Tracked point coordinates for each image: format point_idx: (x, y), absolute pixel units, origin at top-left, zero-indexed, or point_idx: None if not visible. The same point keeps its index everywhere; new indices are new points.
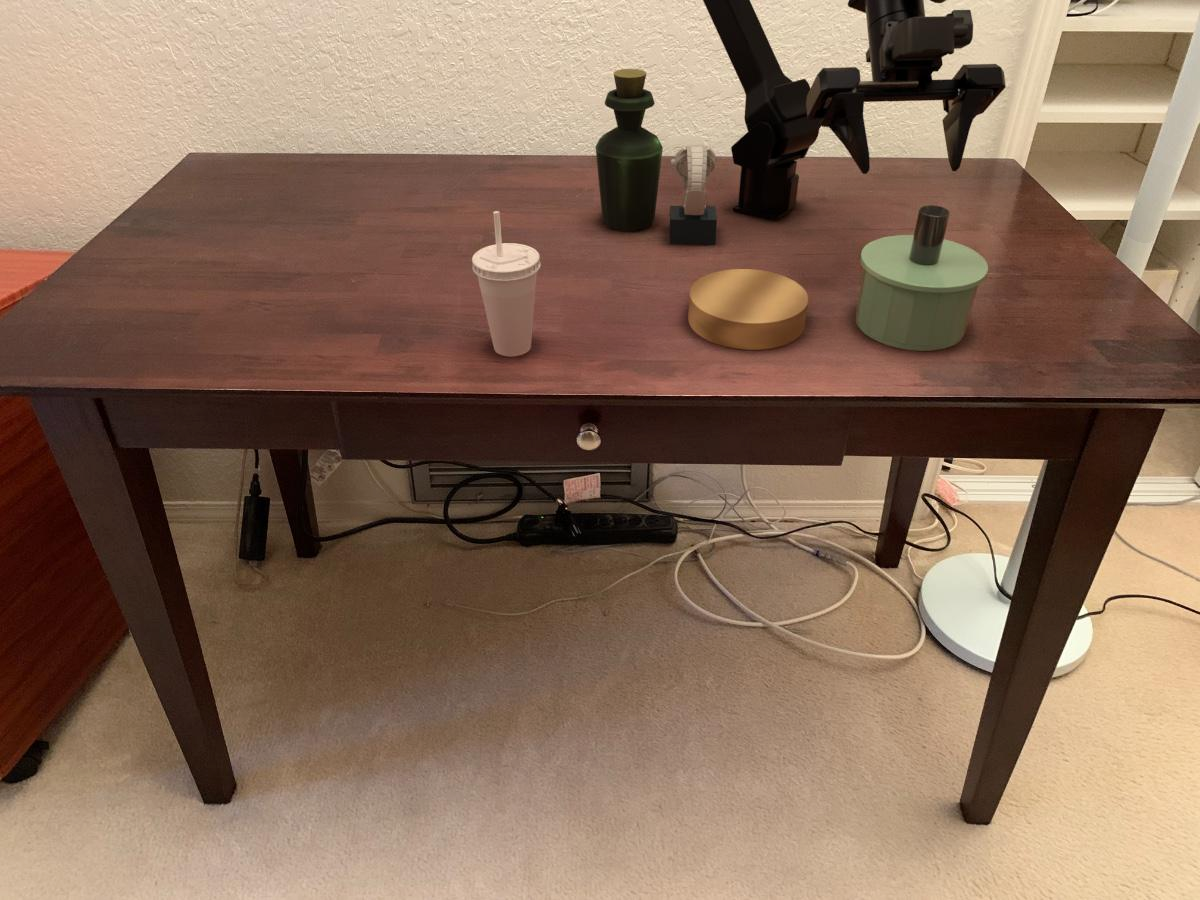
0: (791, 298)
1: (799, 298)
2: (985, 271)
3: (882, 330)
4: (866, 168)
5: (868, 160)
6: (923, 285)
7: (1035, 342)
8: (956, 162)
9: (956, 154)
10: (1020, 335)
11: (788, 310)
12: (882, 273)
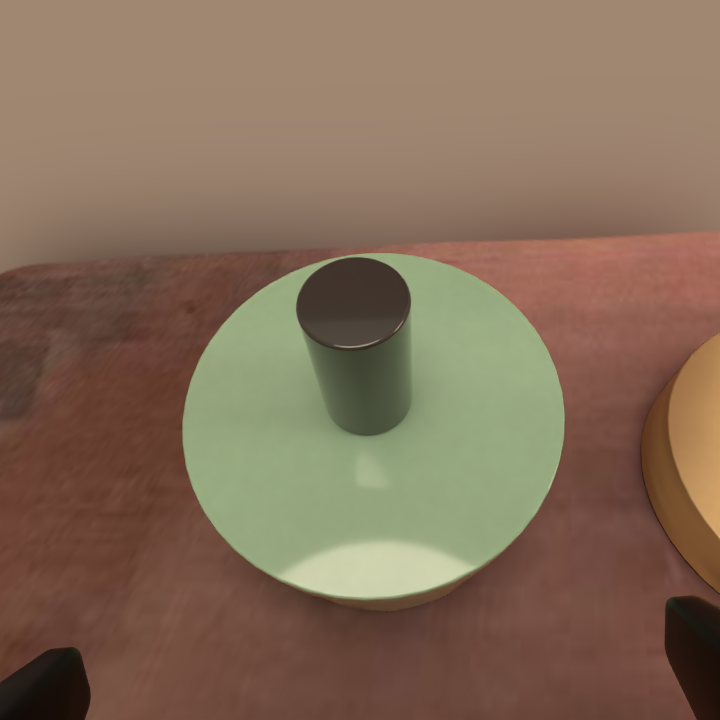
0: (718, 435)
1: (694, 436)
2: (221, 331)
3: None
4: (693, 597)
5: (710, 621)
6: (409, 259)
7: (137, 407)
8: (58, 664)
9: (25, 694)
10: (151, 433)
11: (715, 372)
12: (508, 308)
